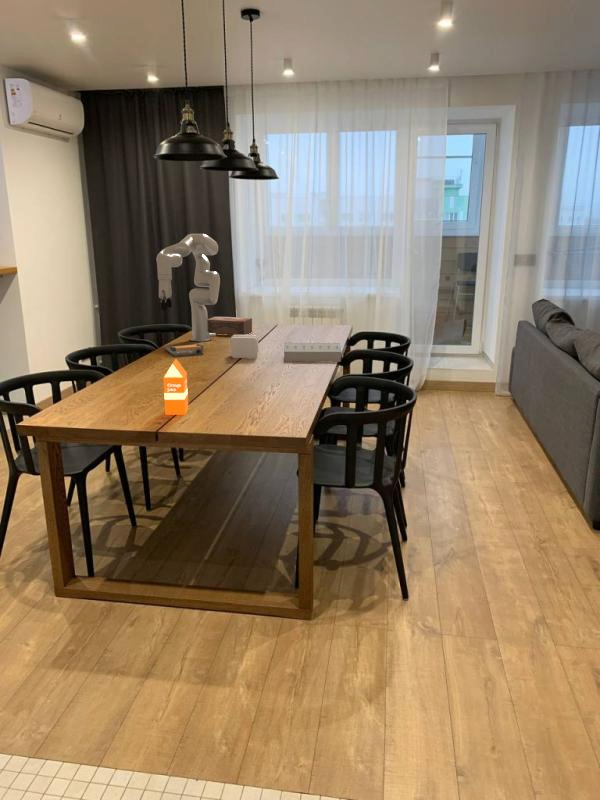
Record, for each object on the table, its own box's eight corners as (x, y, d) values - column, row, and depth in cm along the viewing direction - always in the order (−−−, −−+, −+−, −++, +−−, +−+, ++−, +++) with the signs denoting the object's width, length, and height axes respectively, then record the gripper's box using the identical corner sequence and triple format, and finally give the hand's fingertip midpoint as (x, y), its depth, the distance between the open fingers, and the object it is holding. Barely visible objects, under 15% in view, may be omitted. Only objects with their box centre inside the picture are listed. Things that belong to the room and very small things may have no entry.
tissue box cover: (252, 333, 413) (251, 318, 410) (244, 337, 400) (243, 321, 397) (216, 331, 420) (215, 316, 417) (207, 334, 407) (206, 319, 404)
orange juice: (188, 408, 247) (186, 358, 241) (185, 414, 238) (183, 363, 233) (168, 408, 246) (166, 358, 241) (164, 414, 238) (161, 363, 232)
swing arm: (201, 346, 352) (201, 342, 352) (204, 348, 347) (204, 344, 346) (170, 349, 345) (170, 345, 345) (173, 351, 340) (172, 347, 339)
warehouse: (284, 362, 330) (284, 348, 327) (284, 356, 343) (284, 342, 341) (341, 362, 329) (341, 348, 327) (339, 356, 343) (339, 343, 341)
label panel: (195, 346, 366) (194, 342, 365) (206, 354, 345) (206, 350, 344) (164, 349, 359) (164, 345, 358) (174, 357, 338) (174, 352, 337)
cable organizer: (229, 359, 335) (228, 337, 332) (231, 355, 345) (231, 334, 342) (257, 359, 335) (257, 337, 331) (258, 355, 345) (258, 334, 342)
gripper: (162, 275, 350) (164, 306, 355) (153, 278, 334) (155, 310, 339) (175, 276, 350) (177, 306, 355) (167, 278, 334) (169, 310, 338)
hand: (166, 308), depth 347 cm, fingers open, 9 cm apart
